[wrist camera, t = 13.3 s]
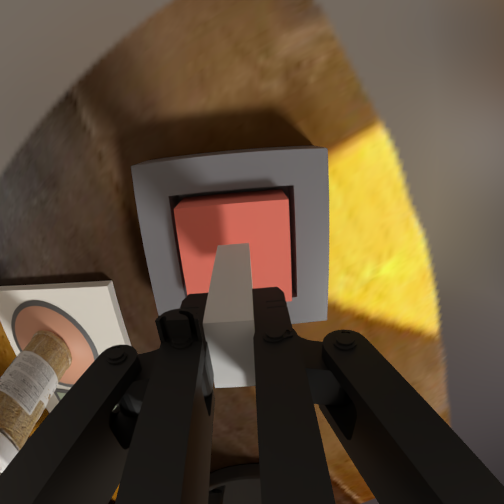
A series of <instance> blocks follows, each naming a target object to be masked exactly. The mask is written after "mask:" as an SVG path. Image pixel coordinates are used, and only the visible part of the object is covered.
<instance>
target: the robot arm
mask: <svg viewBox="0 0 504 504" xmlns="http://www.w3.org/2000/svg"><path fill="white" fill-rule="evenodd" d="M155 322H156V326H157V329H158V333H159V337H160V340H161V345H160V348H159V349H157V350H155V351H151V352H147V353H143V354H137V351H136V350H135V349H134V348H133V347H132V346H129V345H115V346H112V347H110V348H108V349H106V350H104V351H103V352H102V353H101V354H100V355H99V356H98V357H97V358H96V360H95V361H94V362H93V363H92V364H91V365H90V366H89V368H88V369H87V370H86V371H85V372H84V373H83V374H82V376H81V377H80V378H79V379H78V380H77V381H76V383H75V384H74V385H73V386H72V387H71V388H70V390H69V391H68V392H67V393H66V394H65V396H64V397H63V398H62V399H61V400H60V401H59V403H58V404H57V405H56V406H55V407H54V409H53V410H52V411H51V412H50V413H49V415H48V416H47V417H46V418H45V420H44V421H43V422H42V423H41V424H40V426H39V427H38V428H37V429H36V431H35V432H34V433H33V434H32V436H31V437H30V438H29V439H28V441H27V442H26V443H25V444H24V446H23V447H22V448H21V449H20V451H19V452H18V453H17V454H16V456H15V457H14V458H13V459H12V461H11V462H10V463H9V465H8V466H7V467H6V469H5V470H4V471H3V472H2V474H1V475H0V504H108V503H109V501H110V499H111V498H112V496H113V494H114V492H115V490H116V489H117V487H118V485H119V483H120V485H119V489H118V493H117V497H116V502H115V504H335V499H334V495H333V490H332V485H331V480H330V476H329V471H328V466H327V462H326V457H325V453H324V448H323V443H322V439H321V434H320V430H319V425H318V421H317V417H316V412H315V408H314V404H319V408H320V410H321V411H322V413H323V415H324V416H325V418H326V419H327V421H328V423H329V424H330V426H331V428H332V429H333V431H334V432H335V434H336V436H337V437H338V439H339V441H340V442H341V444H342V445H343V447H344V449H345V450H346V452H347V453H348V455H349V457H350V458H351V460H352V461H353V463H354V465H355V466H356V468H357V469H358V471H359V473H360V474H361V476H362V477H363V479H364V480H365V482H366V484H367V485H368V487H369V488H370V490H371V491H372V493H373V495H374V496H375V498H376V499H377V501H378V502H379V504H504V486H503V485H502V484H501V483H500V482H499V480H498V479H497V478H496V477H495V476H494V475H493V474H492V473H491V472H490V470H489V469H488V468H487V467H486V466H485V465H484V464H483V463H482V461H481V460H480V459H479V458H478V457H477V456H476V455H475V454H474V453H473V452H472V451H471V450H470V448H469V447H468V446H467V445H466V444H465V443H464V442H463V441H462V440H461V439H460V437H458V435H457V434H456V433H455V432H454V431H453V430H452V429H451V428H450V427H449V425H448V424H447V423H446V422H445V421H444V420H443V419H442V418H441V417H440V416H439V415H438V414H437V413H436V412H435V410H434V409H433V408H432V407H431V406H430V405H429V404H428V403H427V402H426V401H425V400H424V399H423V398H422V397H421V396H420V395H419V393H418V392H417V391H416V390H415V389H414V388H413V387H412V386H411V385H410V384H409V383H408V382H407V381H406V380H405V379H404V378H403V377H402V376H401V374H400V373H399V372H398V371H397V370H396V369H395V368H394V367H393V366H392V365H391V364H390V363H389V362H388V361H387V360H386V359H385V358H384V357H383V356H382V355H381V354H380V353H379V352H378V351H377V349H376V348H375V347H374V346H373V345H372V344H371V343H370V342H369V341H368V340H367V339H366V338H365V337H364V336H362V335H361V334H360V333H358V332H355V331H352V330H337V331H333V332H331V333H329V334H328V335H327V336H326V337H325V338H324V340H323V342H320V341H311V340H307V339H304V338H301V337H300V336H298V335H297V333H296V332H295V330H294V329H293V328H292V324H291V320H290V316H289V312H288V307H287V303H286V299H285V295H284V292H283V291H282V290H281V289H279V288H278V287H266V288H253V284H252V272H251V260H250V248H249V243H241V244H229V245H218V246H217V251H216V256H215V261H214V266H213V271H212V276H211V282H210V287H209V292H208V293H196V294H189V295H188V296H187V297H186V298H185V299H184V300H182V303H181V306H180V308H179V309H173V310H169V311H167V312H164V313H163V314H161V315H160V316H158V318H157V319H156V320H155ZM213 380H214V384H215V388H224V387H243V386H256V405H257V425H258V445H259V464H246V465H238V466H232V467H228V468H224V469H221V470H218V471H215V472H213V473H211V474H210V462H211V447H212V432H213V418H214V404H215V397H214V392H213ZM116 405H117V406H116ZM115 406H116V408H115ZM114 408H115V409H114ZM113 409H114V410H113Z"/></svg>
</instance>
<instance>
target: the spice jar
mask: <svg viewBox="0 0 504 504" xmlns="http://www.w3.org/2000/svg"><path fill="white" fill-rule="evenodd" d="M71 362H72V356H71V352H70V350H69V348H68V347H67V345H66V344H65V343H64V341H63V340H61V339H60V338H59V337H58V336H57V335H55V334H54V333H52V332H50V331H44V330H41V331H37V332H36V333H35V334H34V335H33V337H32V339H31V341H30V342H29V343H28V345H27V346H26V347H25V348H24V350H23V351H22V352H20V353H19V354H18V355H17V357H16V358H15V359H14V360H13V362H12V363H11V364H10V366H9V367H8V368H7V370H6V371H5V372H4V374H3V375H2V376H1V378H0V472H1V473H2V472H3V471H4V470H5V469H6V467H7V466H8V465H9V463H10V462H11V461H12V459H13V458H14V457H15V456H16V454H17V453H18V452H19V451H20V449H21V448H22V447H23V446H24V444H25V442H26V440H27V438H28V436H29V434H30V433H31V431H32V429H33V427H34V426H35V424H36V422H37V421H38V419H39V418H40V416H41V414H42V412H43V410H44V409H45V407H46V405H47V403H48V402H49V400H50V398H51V397H52V395H53V393H54V391H55V390H56V388H57V386H58V383H59V381H60V379H61V378H62V376H63V375H64V373H65V371H66V370H67V369H68V368H69V367H70V365H71Z"/></svg>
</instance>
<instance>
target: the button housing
mask: <svg viewBox="0 0 504 504" xmlns="http://www.w3.org/2000/svg"><path fill="white" fill-rule="evenodd" d="M131 172H132V179H133V186H134V193H135V200H136V206H137V212H138V218H139V224H140V229H141V235H142V240H143V246H144V251H145V256H146V261H147V266H148V270H149V275H150V280H151V284H152V289H153V293H154V298H155V302H156V306H157V310H158V314H159V316H160V315H161V314H163V313H164V312H167V311H169V310H173V309H179V308H180V306H181V303H182V300H184V299H185V298H186V297H187V296H188V295H187V290H186V284H185V279H184V273H183V267H182V261H181V255H180V249H179V243H178V236H177V230H176V223H175V216H174V208H175V207H176V206H177V205H178V203H179V202H180V201H181V200H182V199H183V198H186V197H195V196H205V195H216V194H226V193H238V192H250V191H263V190H278V189H282V190H283V192H284V193H285V195H286V196H287V198H288V199H289V220H290V247H291V280H292V301H288V302H286V303H287V307H288V312H289V316H290V320H291V324H295V323H305V322H314V321H323V320H327V305H328V277H329V178H328V150H327V148H324V147H319V146H314V145H313V146H287V147H269V148H254V149H241V150H230V151H219V152H209V153H200V154H191V155H183V156H175V157H168V158H161V159H154V160H147V161H144V162H141V163H138V164H136V165H133V166H131Z"/></svg>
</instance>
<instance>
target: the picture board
mask: <svg viewBox="0 0 504 504" xmlns="http://www.w3.org/2000/svg"><path fill="white" fill-rule="evenodd" d="M0 321H1V323H2V326H3V328H4V330H5V333H6V335H7V337H8V339H9V341H10V343H11V346H12V348H13V350H14V352H15V354H16V356H17V355H18V354H19V353H20V352H22V351H23V350H24V348H25V347H26V346H27V345H28V343H29V342H30V341H31V339H32V337H33V335H34V334H35V333H36V332H37V331H41V330H44V331H50V332H52V333H54V334H55V335H57V336H58V337H59V338H60V339H61V340H63V341H64V343H65V344H66V345H67V347H68V348H69V350H70V352H71V356H72V362H71V365H70V367H69V368H68V369H67V370H66V371H65V373H64V375H63V376H62V378H61V379H60V381H59V383H58V386H57V388H56V390H55V391H54V393H53V395H52V397H51V398H50V400H49V402H48V403H47V405H46V409H47V410H48V412H49V413H50V412H51V411H52V410H53V409H54V407H55V406H56V405H57V404H58V403H59V401H60V400H61V399H62V398H63V397H64V396H65V394H66V393H67V392H68V391H69V390H70V388H71V387H72V386H73V385H74V384H75V383H76V381H77V380H78V379H79V378H80V377H81V376H82V374H83V373H84V372H85V371H86V370H87V369H88V368H89V366H90V365H91V364H92V363H93V362H94V361H95V360H96V358H97V357H98V356H99V355H100V354H101V353H102V352H103V351H104V350H106V349H108V348H110V347H112V346H115V345H129V346H131V343H130V340H129V337H128V334H127V331H126V328H125V325H124V321H123V318H122V315H121V311H120V308H119V305H118V301H117V298H116V294H115V290H114V287H113V283H112V280H110V281H93V282H75V283H57V284H37V285H16V286H0ZM116 406H117V405H116ZM116 406H115V408H116ZM115 408H114V409H115ZM114 409H113V410H114Z"/></svg>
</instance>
